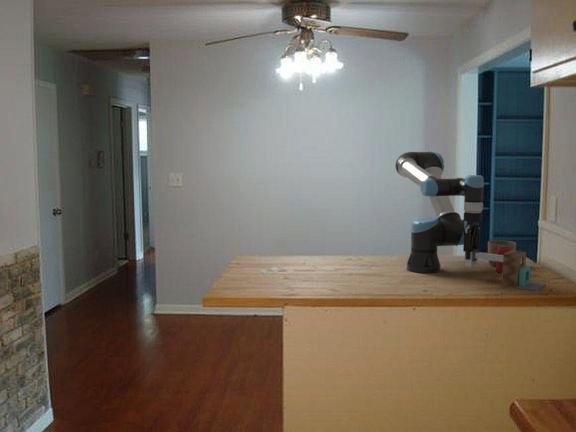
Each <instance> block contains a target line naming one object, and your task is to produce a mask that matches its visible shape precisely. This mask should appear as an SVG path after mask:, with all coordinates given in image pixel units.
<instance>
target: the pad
mask: <svg viewBox="0 0 576 432" xmlns="http://www.w3.org/2000/svg"><path fill="white" fill-rule="evenodd" d="M546 286H547V283H543V282H542V283H541V282H535V281H530V283H529V284H527V285H525V286H517V287H516V288H517V289H518V290H519V289H520V290H526V291H531V292H539V291H540V290H541V289H543V288H544V287H546Z"/></svg>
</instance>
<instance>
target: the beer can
mask: <svg viewBox="0 0 576 432" xmlns="http://www.w3.org/2000/svg"><path fill="white" fill-rule="evenodd" d="M511 250H512V248H511V245H504V244H501V245H498V248H497V254H498V255H504V253H506V252H509V251H511ZM495 271H496V272H497V273H498V274H499V273H500V274H503V262H499V261H496V266H495Z"/></svg>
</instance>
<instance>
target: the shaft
mask: <svg viewBox="0 0 576 432" xmlns="http://www.w3.org/2000/svg"><path fill="white" fill-rule="evenodd" d="M472 252H473V253H472V261H473V262H474V261H476V260H477V261H478V260H484V261H488V260H491V261H499V262H503V256H504V255H498V254H490V253H488V252H481V251H479V250H478V249H477V248H472ZM465 257H466V252H465V251H464V258H465ZM477 261H476V262H477ZM521 264H522V257H521Z"/></svg>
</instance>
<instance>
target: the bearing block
mask: <svg viewBox="0 0 576 432" xmlns="http://www.w3.org/2000/svg"><path fill="white" fill-rule="evenodd" d="M521 257H522V264H521ZM526 261H527V252H526V251H521V250H515V251H513V250H511V251H509V252H506V253H504V256H503V273H502V280H501V281H502V283H501V285H502V286H506V287H513V288H517V286H519V272H520V268H522V267H524V266H527V265H526V263H527V262H526Z"/></svg>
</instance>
